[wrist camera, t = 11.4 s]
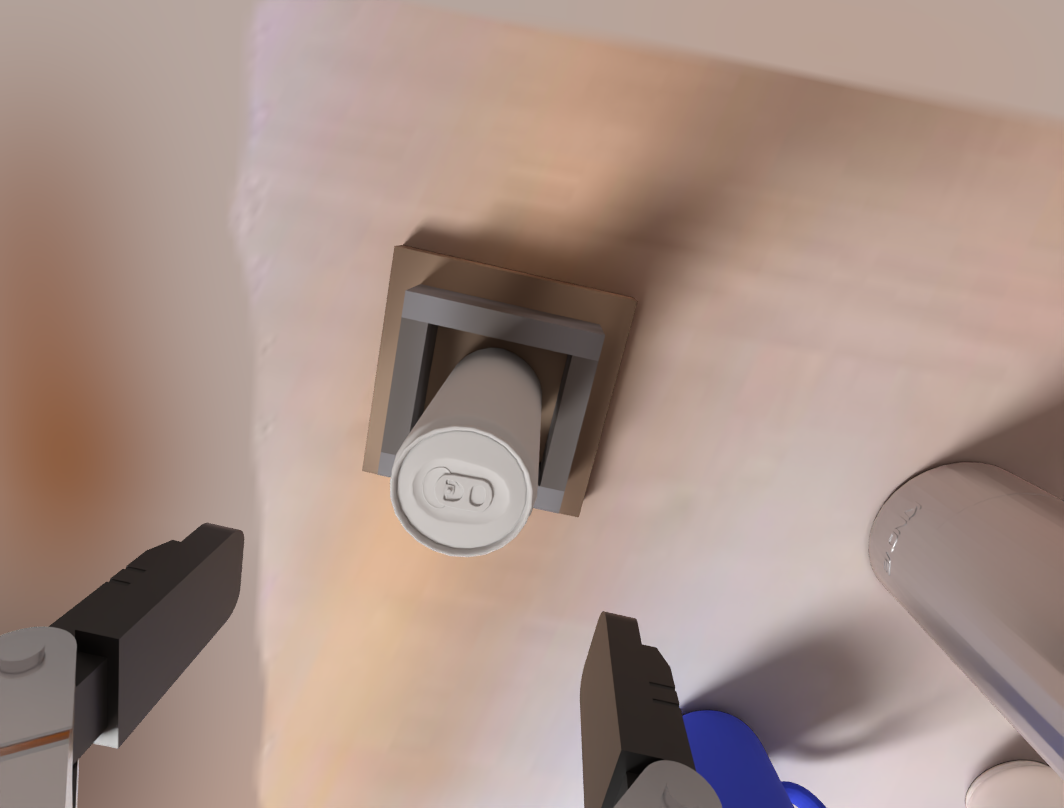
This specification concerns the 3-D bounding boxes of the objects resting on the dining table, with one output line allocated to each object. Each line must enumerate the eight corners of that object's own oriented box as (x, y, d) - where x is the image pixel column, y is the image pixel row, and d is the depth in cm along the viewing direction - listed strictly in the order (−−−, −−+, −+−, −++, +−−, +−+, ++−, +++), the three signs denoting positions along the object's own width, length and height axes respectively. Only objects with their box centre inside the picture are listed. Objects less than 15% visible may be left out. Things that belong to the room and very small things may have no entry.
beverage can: (456, 336, 29) (394, 407, 17) (551, 355, 29) (551, 438, 18) (442, 426, 30) (376, 546, 19) (532, 443, 30) (522, 573, 19)
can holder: (633, 297, 30) (647, 309, 25) (577, 504, 33) (581, 546, 29) (402, 245, 29) (376, 248, 25) (370, 460, 33) (343, 495, 28)
